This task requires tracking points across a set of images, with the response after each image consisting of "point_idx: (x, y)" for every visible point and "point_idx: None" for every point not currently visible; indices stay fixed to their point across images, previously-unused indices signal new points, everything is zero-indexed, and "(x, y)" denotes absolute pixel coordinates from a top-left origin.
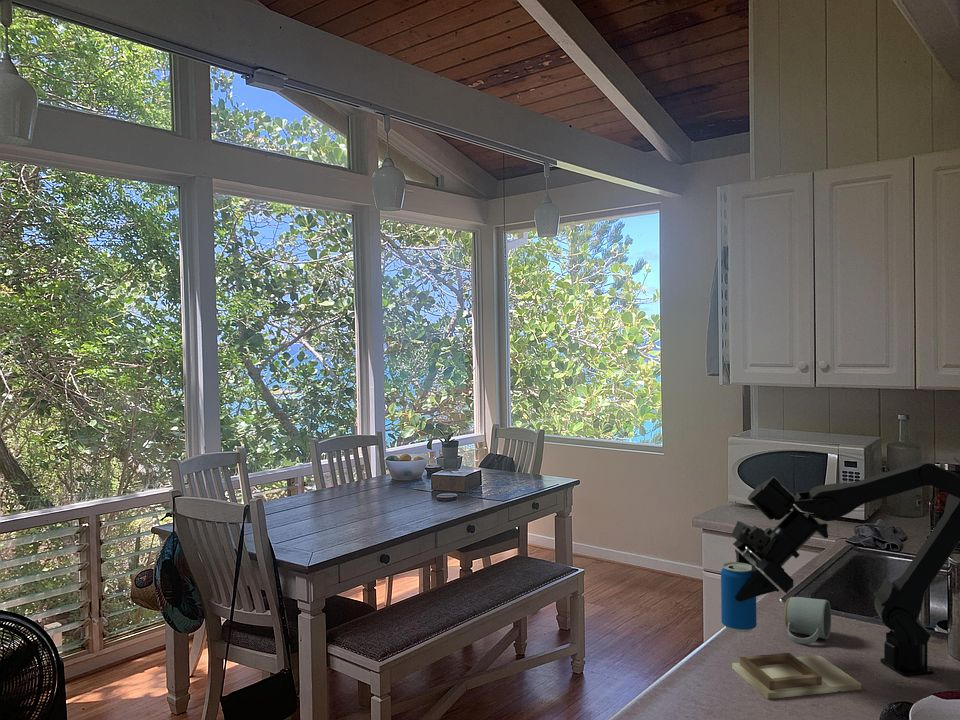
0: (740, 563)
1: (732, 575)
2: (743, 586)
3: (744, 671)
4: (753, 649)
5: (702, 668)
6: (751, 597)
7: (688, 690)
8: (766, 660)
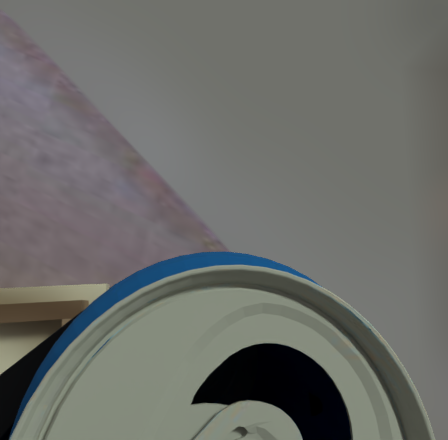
0: None
1: (91, 305)
2: (27, 388)
3: (45, 293)
4: None
5: (129, 207)
6: None
7: (25, 125)
8: None
